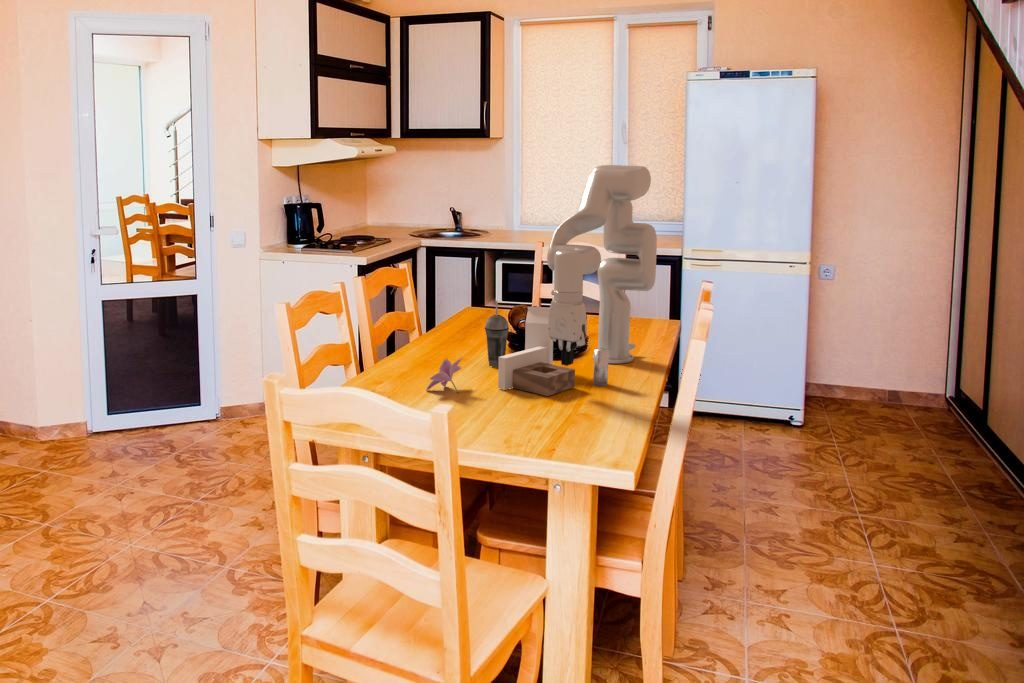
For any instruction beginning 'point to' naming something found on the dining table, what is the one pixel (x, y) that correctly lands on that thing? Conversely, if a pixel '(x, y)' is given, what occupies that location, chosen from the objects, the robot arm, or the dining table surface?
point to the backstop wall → (518, 364)
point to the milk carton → (538, 331)
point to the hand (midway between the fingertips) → (567, 364)
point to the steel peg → (601, 367)
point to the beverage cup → (496, 337)
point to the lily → (445, 373)
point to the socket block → (543, 378)
